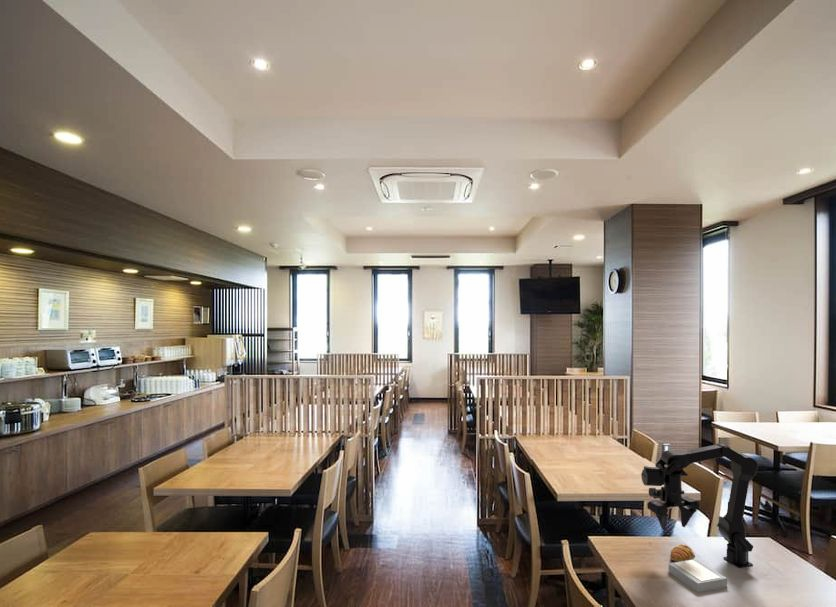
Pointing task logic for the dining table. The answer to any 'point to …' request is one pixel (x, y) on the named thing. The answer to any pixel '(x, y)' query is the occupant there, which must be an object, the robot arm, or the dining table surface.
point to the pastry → (682, 553)
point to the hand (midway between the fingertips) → (673, 528)
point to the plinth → (697, 575)
